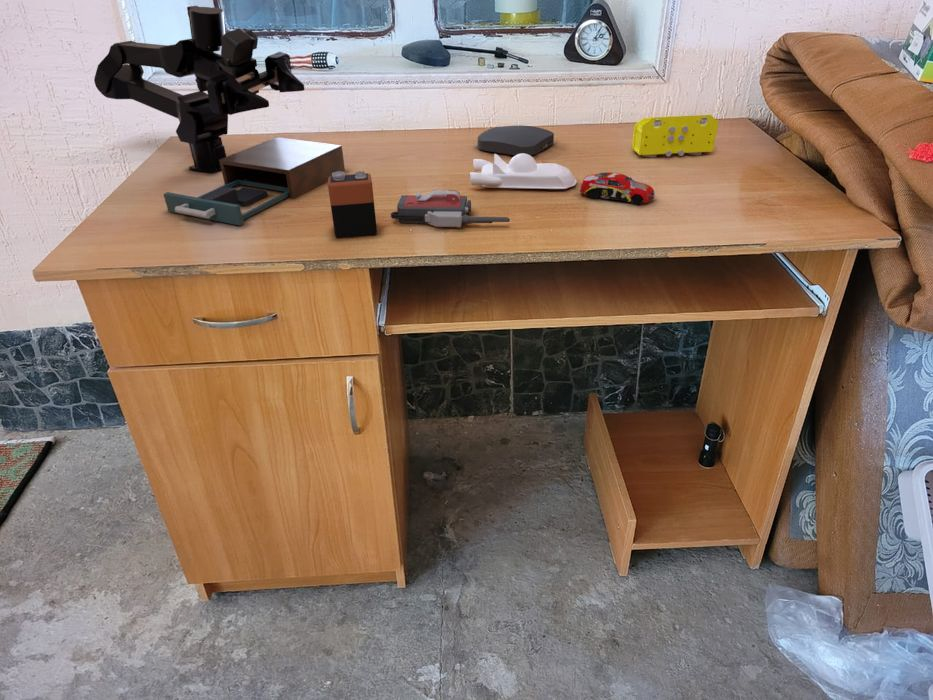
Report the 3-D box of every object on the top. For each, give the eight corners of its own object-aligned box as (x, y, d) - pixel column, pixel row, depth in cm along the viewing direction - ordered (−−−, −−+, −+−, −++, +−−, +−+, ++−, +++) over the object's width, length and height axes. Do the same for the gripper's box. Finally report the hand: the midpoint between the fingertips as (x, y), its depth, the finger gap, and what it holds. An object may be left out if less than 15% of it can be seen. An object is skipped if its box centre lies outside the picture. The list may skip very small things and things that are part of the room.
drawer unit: (293, 198, 120) (288, 170, 117) (225, 187, 127) (219, 159, 124) (345, 171, 133) (341, 145, 130) (281, 162, 139) (276, 137, 136)
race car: (656, 198, 117) (660, 176, 115) (649, 208, 113) (652, 185, 111) (586, 187, 122) (588, 166, 120) (577, 196, 118) (578, 175, 116)
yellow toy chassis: (639, 159, 136) (644, 118, 131) (630, 151, 140) (635, 111, 136) (713, 155, 137) (720, 115, 132) (702, 148, 141) (709, 108, 137)
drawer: (230, 230, 108) (225, 212, 106) (157, 216, 114) (152, 198, 112) (301, 193, 122) (299, 176, 120) (234, 182, 128) (230, 165, 127)
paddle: (198, 213, 115) (194, 196, 113) (245, 192, 124) (241, 175, 122) (222, 218, 113) (218, 200, 111) (268, 196, 122) (264, 179, 120)
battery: (335, 229, 108) (326, 170, 103) (376, 225, 109) (369, 166, 103) (335, 239, 104) (326, 178, 99) (377, 235, 105) (371, 175, 100)
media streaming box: (471, 150, 144) (470, 136, 142) (503, 134, 154) (503, 121, 152) (529, 159, 137) (530, 145, 135) (559, 142, 147) (560, 128, 146)
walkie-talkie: (388, 229, 108) (509, 230, 106) (386, 203, 105) (509, 204, 104) (397, 209, 115) (510, 210, 113) (395, 185, 112) (511, 186, 111)
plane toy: (578, 194, 119) (580, 163, 116) (469, 193, 121) (469, 162, 118) (574, 176, 128) (577, 146, 125) (473, 175, 129) (473, 146, 126)
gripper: (173, 40, 111) (240, 65, 105) (252, 14, 122) (316, 35, 117) (188, 104, 118) (251, 130, 113) (261, 74, 130) (322, 95, 125)
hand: (286, 95), depth 117 cm, fingers open, 9 cm apart
